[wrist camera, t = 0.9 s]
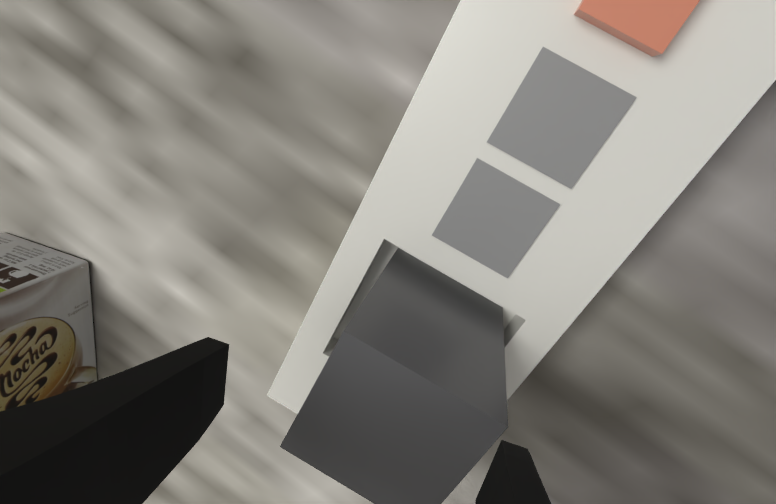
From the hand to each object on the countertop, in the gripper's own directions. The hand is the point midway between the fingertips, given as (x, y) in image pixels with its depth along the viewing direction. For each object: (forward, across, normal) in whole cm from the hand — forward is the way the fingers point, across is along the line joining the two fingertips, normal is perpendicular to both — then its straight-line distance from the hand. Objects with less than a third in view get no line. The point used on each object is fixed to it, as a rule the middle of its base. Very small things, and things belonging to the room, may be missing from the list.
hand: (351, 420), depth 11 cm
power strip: (+9, -2, -2) cm, 10 cm away
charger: (+8, -1, +1) cm, 8 cm away
